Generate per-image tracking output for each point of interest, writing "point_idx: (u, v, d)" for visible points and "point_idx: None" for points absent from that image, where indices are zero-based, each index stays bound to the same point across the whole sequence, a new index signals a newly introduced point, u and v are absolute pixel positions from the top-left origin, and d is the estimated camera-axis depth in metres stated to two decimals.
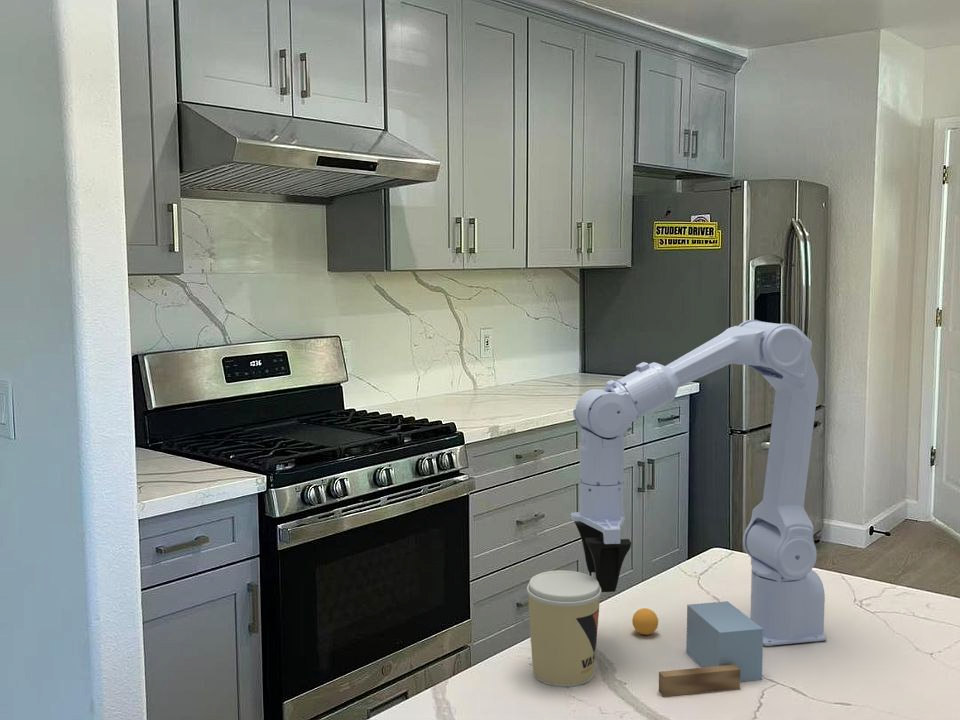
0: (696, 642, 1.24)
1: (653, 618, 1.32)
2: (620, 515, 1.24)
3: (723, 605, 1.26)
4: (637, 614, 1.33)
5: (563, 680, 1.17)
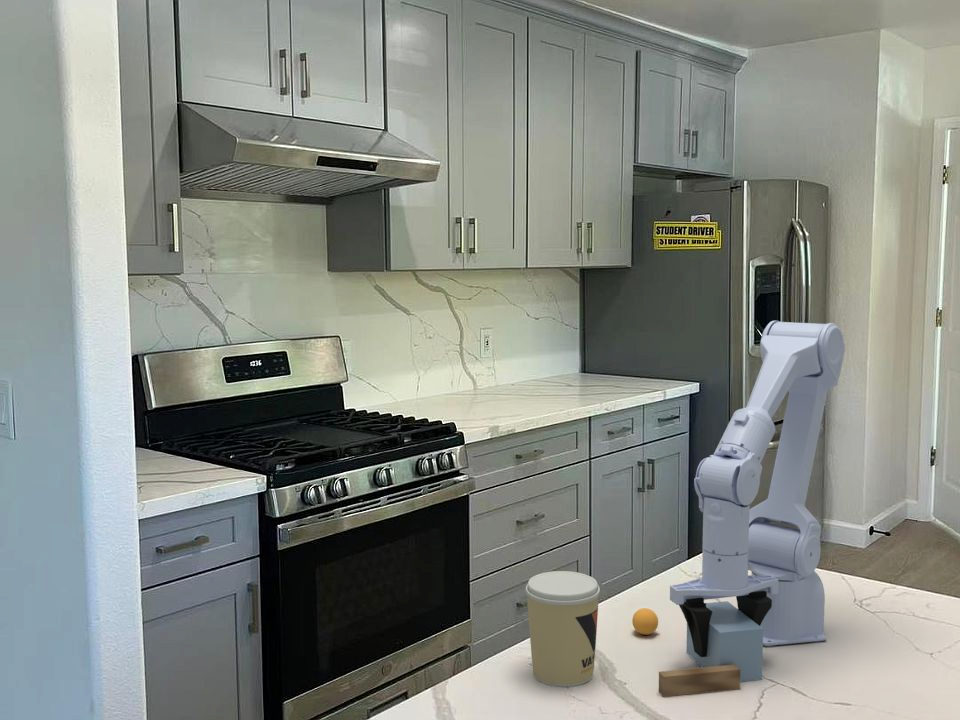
0: None
1: (653, 618, 1.32)
2: (719, 587, 1.20)
3: (723, 605, 1.26)
4: (637, 614, 1.33)
5: (563, 680, 1.17)
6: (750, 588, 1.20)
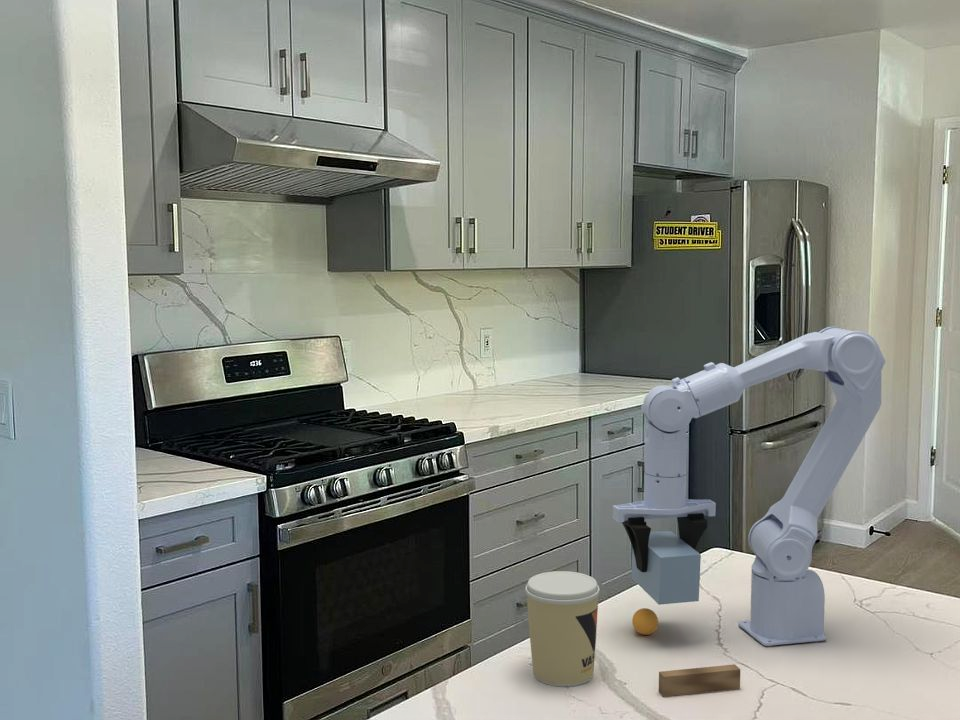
0: None
1: (653, 618, 1.32)
2: (658, 507, 1.29)
3: (666, 534, 1.36)
4: (637, 614, 1.33)
5: (563, 680, 1.17)
6: (687, 509, 1.30)
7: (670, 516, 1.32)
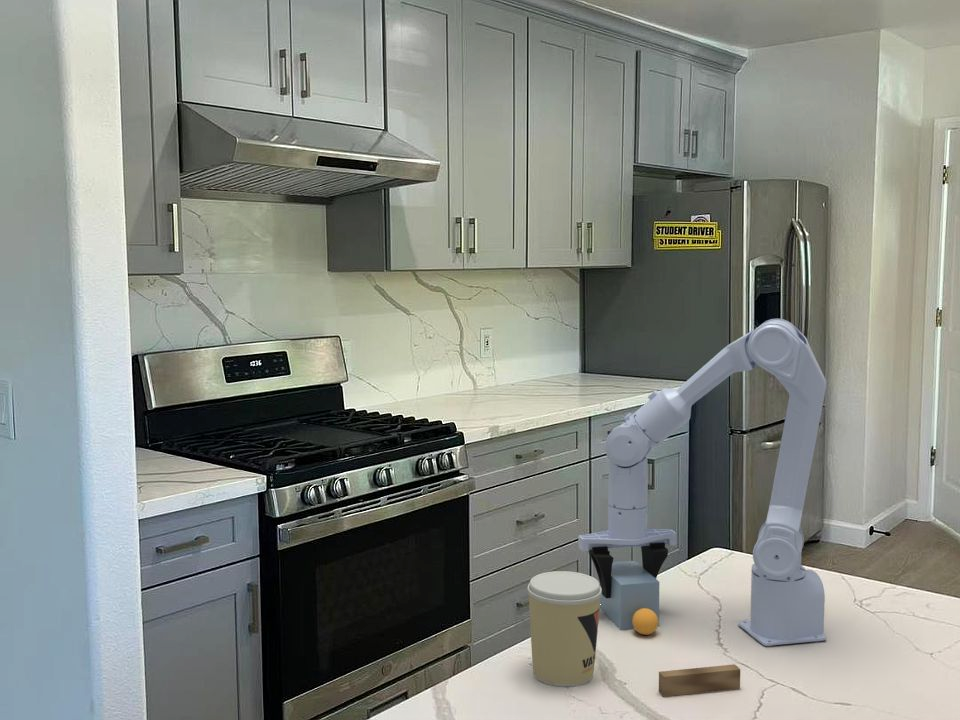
0: None
1: (653, 618, 1.32)
2: (620, 537, 1.37)
3: (630, 564, 1.44)
4: (637, 614, 1.33)
5: (563, 680, 1.17)
6: (648, 539, 1.38)
7: (633, 545, 1.40)
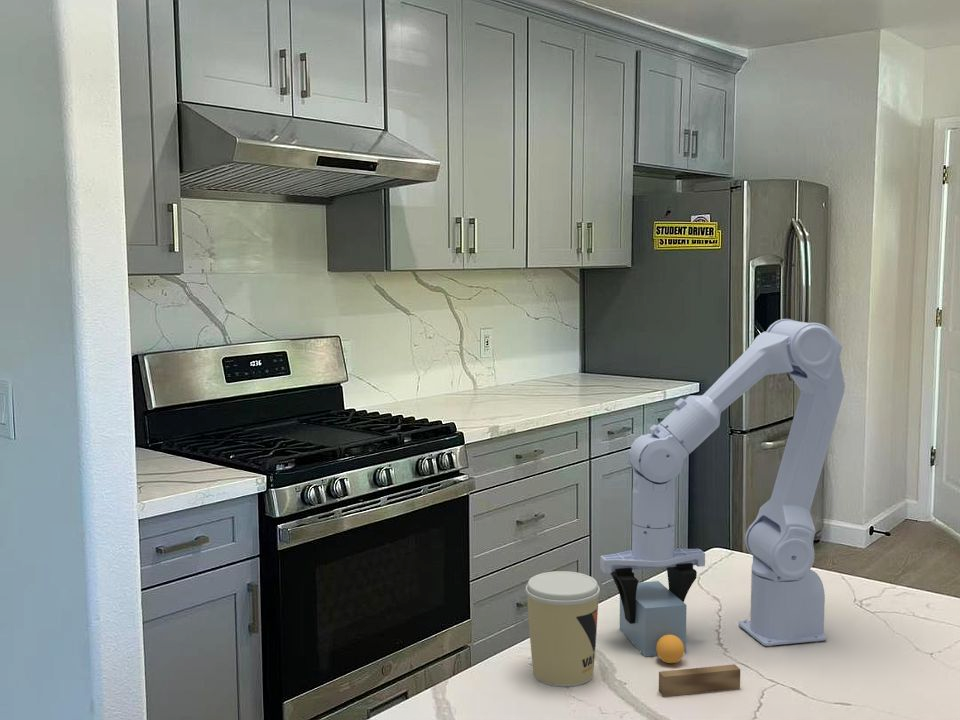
0: None
1: (675, 636, 1.24)
2: (645, 558, 1.28)
3: (653, 584, 1.35)
4: None
5: (563, 680, 1.17)
6: (675, 560, 1.28)
7: (659, 566, 1.30)
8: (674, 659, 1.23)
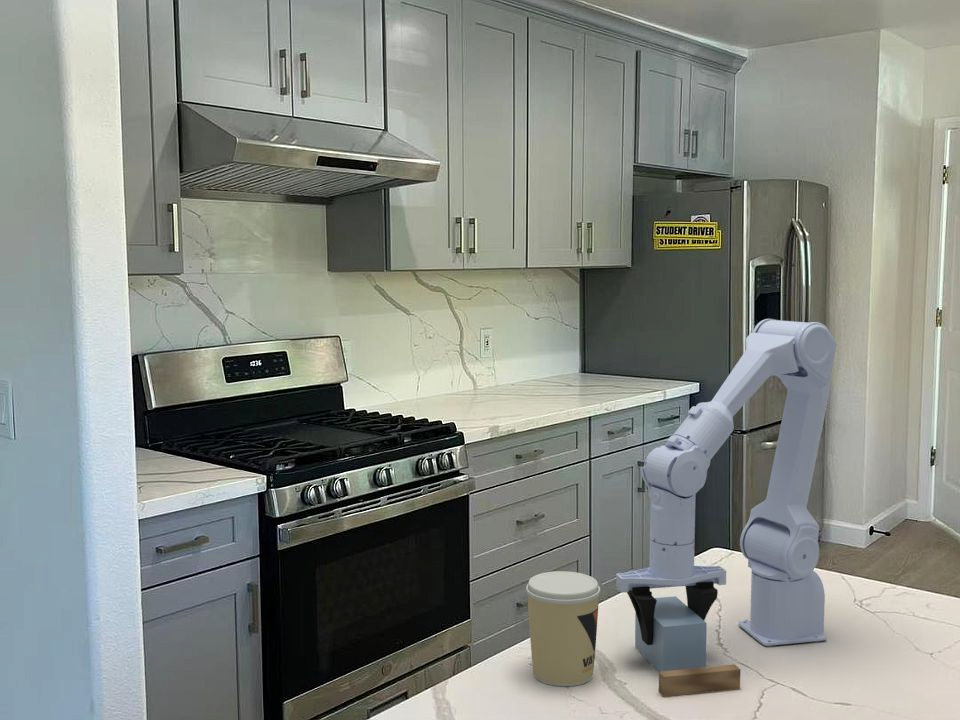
0: None
1: None
2: (664, 576, 1.21)
3: (671, 600, 1.28)
4: None
5: (564, 680, 1.17)
6: (695, 578, 1.22)
7: None
8: None
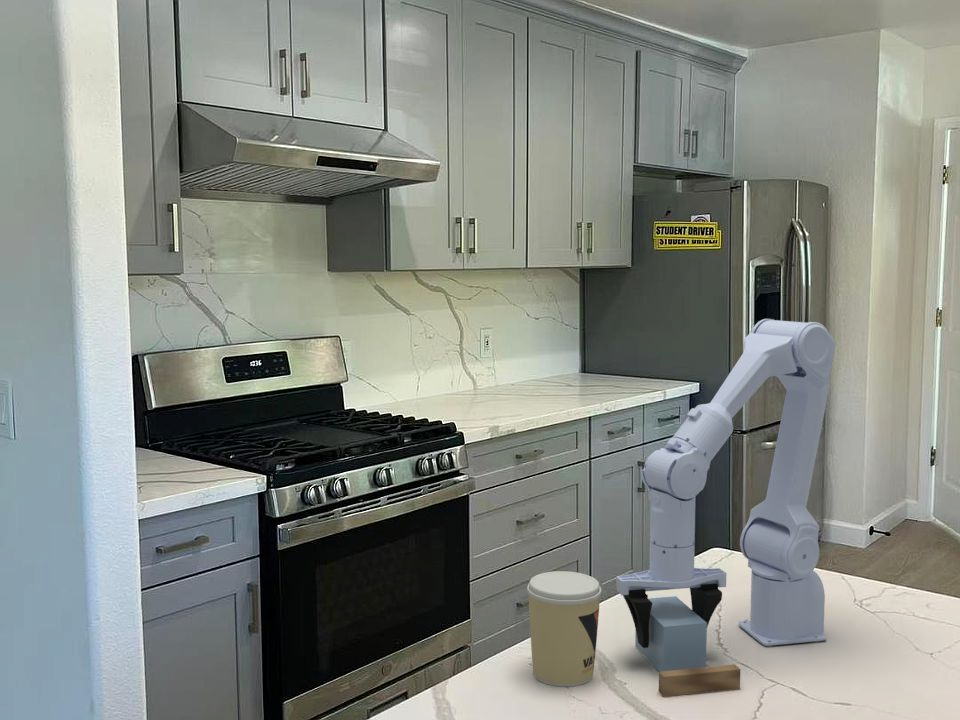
0: None
1: None
2: (664, 579, 1.21)
3: (671, 600, 1.28)
4: None
5: (564, 680, 1.17)
6: (695, 580, 1.22)
7: (678, 587, 1.24)
8: None
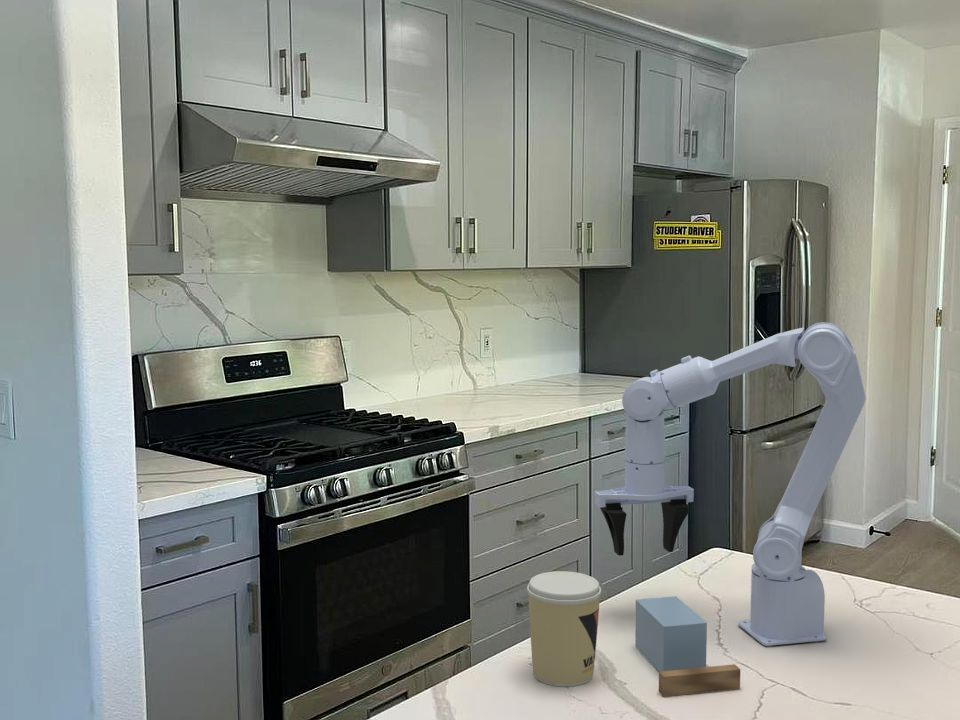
0: (643, 637, 1.26)
1: None
2: (637, 493, 1.36)
3: (671, 600, 1.28)
4: None
5: (564, 680, 1.17)
6: (665, 494, 1.36)
7: (650, 502, 1.38)
8: None
